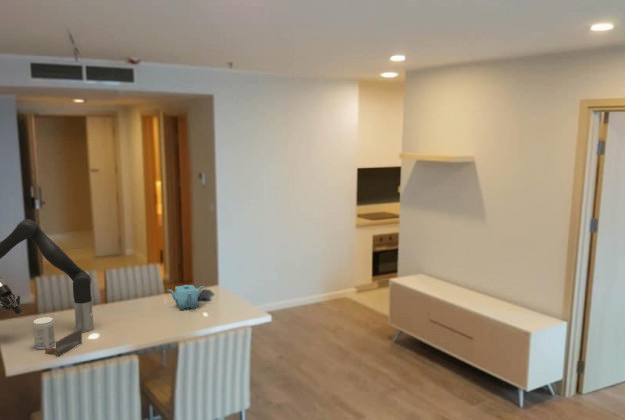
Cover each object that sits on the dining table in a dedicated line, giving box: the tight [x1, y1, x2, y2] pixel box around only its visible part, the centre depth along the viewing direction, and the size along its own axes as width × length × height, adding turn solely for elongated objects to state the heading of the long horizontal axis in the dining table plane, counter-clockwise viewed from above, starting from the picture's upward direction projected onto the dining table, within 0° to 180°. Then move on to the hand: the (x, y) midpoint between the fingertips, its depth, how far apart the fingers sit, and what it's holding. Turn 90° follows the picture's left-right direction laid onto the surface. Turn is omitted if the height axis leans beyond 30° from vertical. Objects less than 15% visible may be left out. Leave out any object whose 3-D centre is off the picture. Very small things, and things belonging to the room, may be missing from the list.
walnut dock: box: [44, 329, 83, 358], centre depth 274 cm, size 9×18×8 cm, turn 166°
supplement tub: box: [33, 316, 56, 350], centre depth 277 cm, size 10×10×15 cm
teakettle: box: [166, 284, 205, 311], centre depth 342 cm, size 19×19×15 cm
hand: (19, 313), depth 280 cm, fingers closed
